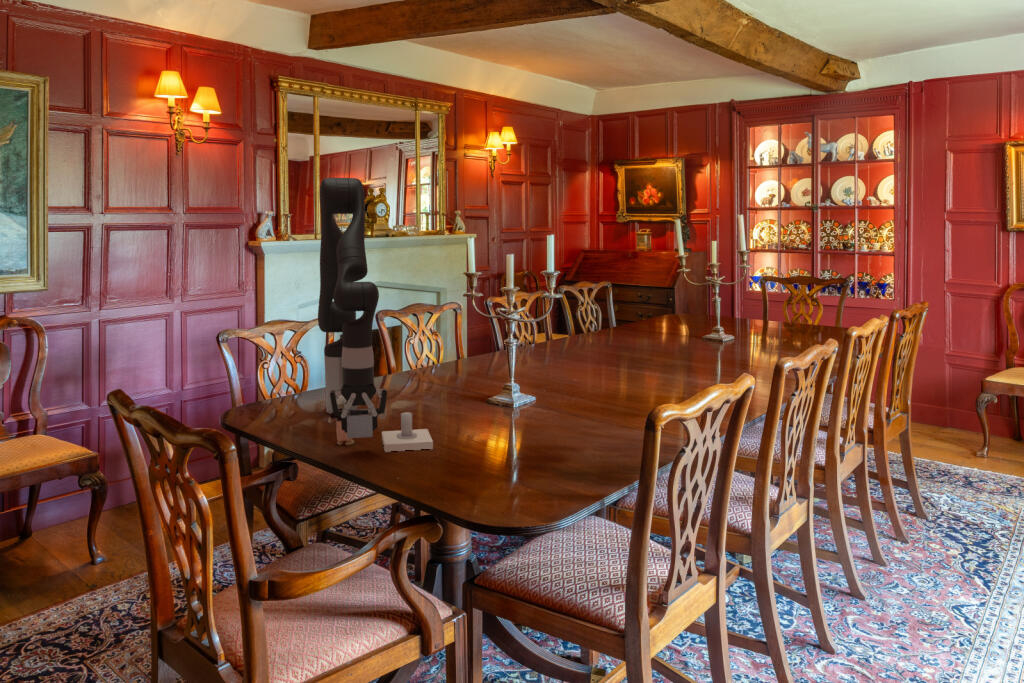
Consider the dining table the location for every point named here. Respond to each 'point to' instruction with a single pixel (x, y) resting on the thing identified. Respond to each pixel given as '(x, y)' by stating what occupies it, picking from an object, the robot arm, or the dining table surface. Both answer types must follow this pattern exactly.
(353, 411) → the collar
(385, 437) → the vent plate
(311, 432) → the dining table surface
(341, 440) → the grandmother figurine
